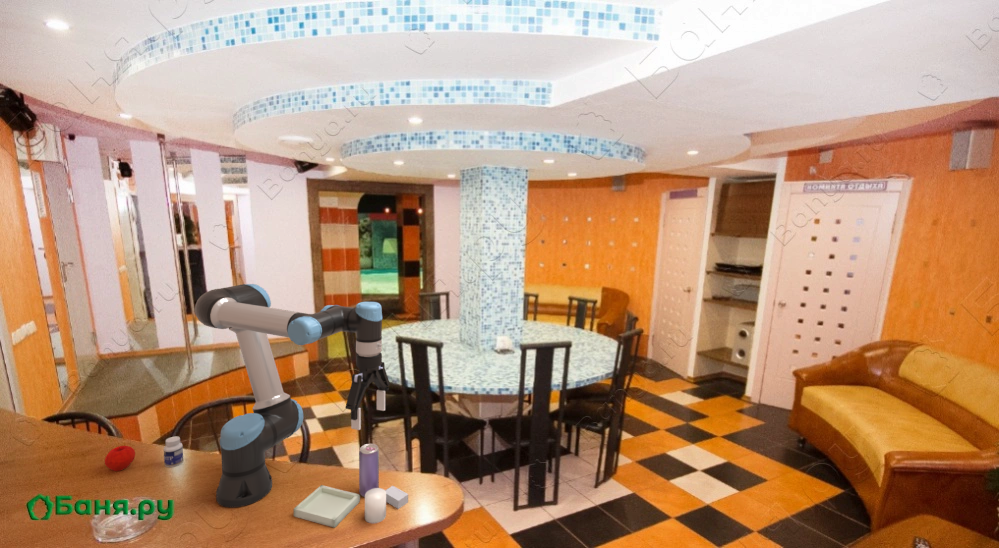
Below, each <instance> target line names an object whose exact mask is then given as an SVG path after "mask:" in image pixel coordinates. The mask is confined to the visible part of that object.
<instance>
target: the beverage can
mask: <svg viewBox="0 0 999 548" xmlns="http://www.w3.org/2000/svg"><path fill="white" fill-rule="evenodd" d="M358 463H359V464H358V472H359V474H358V476H359V477H358V486H359V489H358V490H359V491H358V492H359V493H358V494H359V495H360V496H361V497H364V498H365V494H366V492H367V491H369V490H371V489H374V488H380V485H379V484H380V476H379V475H380V450H379V446H378V444H375V443H366V444H363V445H362V446H361V447H360V448H359V453H358Z"/></svg>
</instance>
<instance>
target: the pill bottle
mask: <svg viewBox="0 0 999 548" xmlns="http://www.w3.org/2000/svg"><path fill="white" fill-rule="evenodd" d="M163 460H164V466H165V467H166V468H172V467H173V468H174V467H177V466H180V465H181V464H182V463H183V462H184V446H183V443H182V442H181V438H180V436H178V435H177V436H176V435H175V436H172V437H168V438H166V439H165V446H164V447H163Z"/></svg>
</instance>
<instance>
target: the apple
mask: <svg viewBox="0 0 999 548" xmlns="http://www.w3.org/2000/svg"><path fill="white" fill-rule="evenodd" d="M135 457H136V451H135V449H134V448H133V447H132V446H129V445H119V446H116V447H114V448H112V449H110V450H109V452H108V453H107V454H106V456H105V458H104V465H105V467H106V468H108V469H109V470H111V471H114V472H120V471H122V470H125V469H127V468H128V467H129V466H130V465H131V464H132V462H133V461H134V460H135Z"/></svg>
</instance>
